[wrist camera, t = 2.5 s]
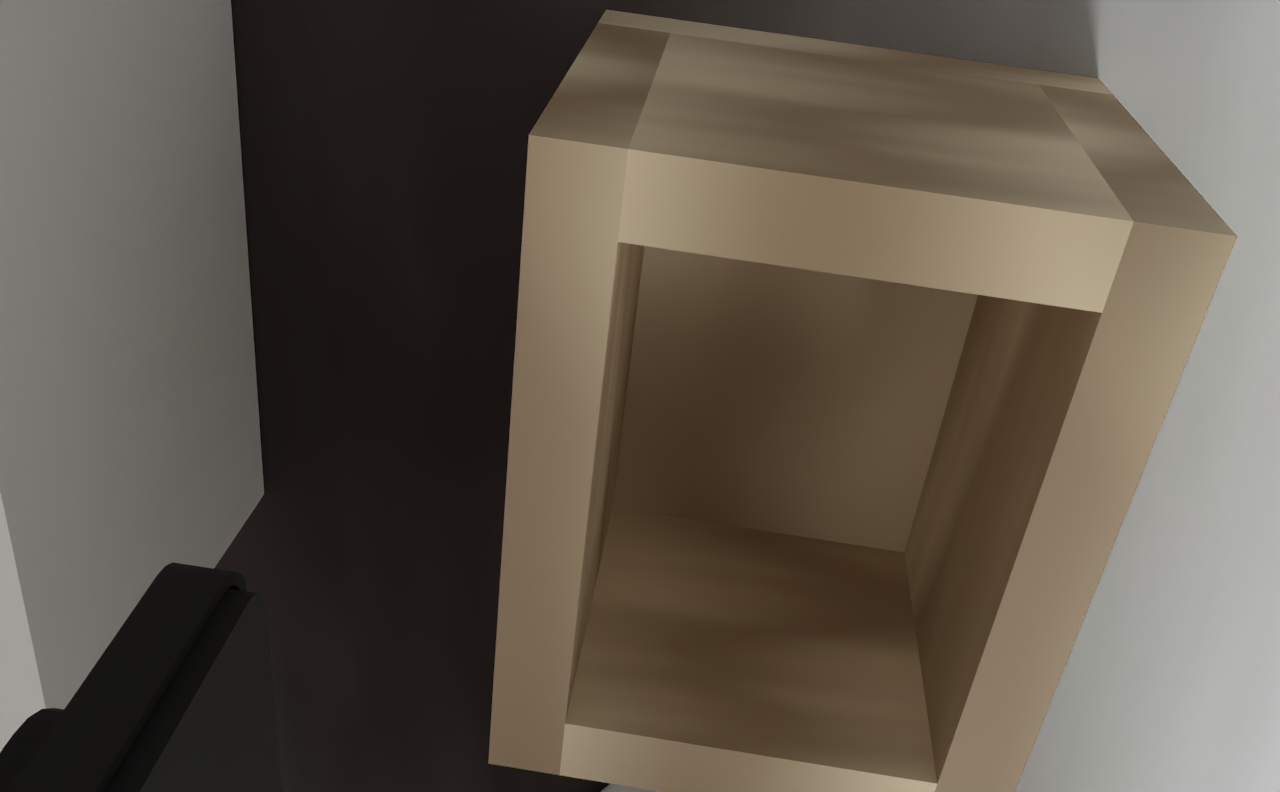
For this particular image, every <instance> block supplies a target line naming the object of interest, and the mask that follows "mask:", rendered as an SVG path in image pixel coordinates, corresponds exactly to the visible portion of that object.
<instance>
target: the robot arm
mask: <svg viewBox="0 0 1280 792" xmlns="http://www.w3.org/2000/svg"><path fill="white" fill-rule="evenodd" d="M0 792H282V788H281V777H280V765H279V754H278V743H277V731H276V720H275V709H274V697H273V686H272V675H271V663H270V652H269V641H268V629H267V618H266V607H265V601H264V598H263V596H262V594H259V593H252V592H247V588H246V584H245V579H244V578H243V576H242V574H241V573H238V572H232V571H226V570H219V569H213V568H206V567H200V566H193V565H186V564H180V563H173V562H172V563H170V564H168V565H166V566H165V567H164V568H163V569H162V570H161V571H160V572H159V574H158V575H157V576H156V578H155V579H154V581H153V582H152V583H151V585H150V586H149V588H148V589H147V591H146V592H145V594H144V595H143V596H142V598H141V599H140V601H139V602H138V604H137V605H136V607H135V608H134V609H133V611H132V612H131V614H130V615H129V617H128V618H127V620H126V621H125V622H124V624H123V625H122V627H121V628H120V630H119V631H118V632H117V634H116V635H115V637H114V638H113V640H112V641H111V643H110V644H109V645H108V647H107V648H106V650H105V651H104V653H103V654H102V656H101V657H100V658H99V660H98V661H97V663H96V664H95V666H94V667H93V669H92V670H91V671H90V673H89V674H88V676H87V677H86V679H85V680H84V682H83V683H82V684H81V686H80V687H79V689H78V690H77V692H76V693H75V695H74V696H73V697H72V699H71V700H70V702H69V703H68V705H67V706H66V708H65V709H57V708H47V709H41V710H39V711H38V712H36V713H35V714H33V715H32V716H30V717H28V718H27V719H26V720H25V722H24V723H23V724H22V725H21V726H20V727H19V728H18V729H17V731H16V732H15V733H14V734H13V735H12V737H11V738H10V739H9V741H8V742H7V744H6V745H5V746H4V748H3V749H2V750H1V752H0Z"/></svg>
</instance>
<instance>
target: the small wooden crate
mask: <svg viewBox="0 0 1280 792" xmlns="http://www.w3.org/2000/svg"><path fill="white" fill-rule="evenodd" d="M1236 238H1237V236H1236V235H1235V234H1234V232H1233V231H1232V230H1231V229H1230V228H1229V227H1228V226H1227V224H1226V223H1225V222H1224V221H1223V220H1222V219H1221V218H1220V216H1219V215H1218V214H1217V213H1216V212H1215V211H1214V210H1213V208H1212V207H1211V206H1210V205H1209V204H1208V203H1207V202H1206V200H1205V199H1204V198H1203V197H1202V196H1201V195H1200V194H1199V192H1198V191H1197V190H1196V189H1195V188H1194V187H1193V186H1192V184H1191V183H1190V182H1189V181H1188V180H1187V179H1186V178H1185V176H1184V175H1183V174H1182V173H1181V172H1180V171H1179V170H1178V168H1177V167H1176V166H1175V165H1174V164H1173V163H1172V162H1171V160H1170V159H1169V158H1168V157H1167V156H1166V155H1165V154H1164V152H1163V151H1162V150H1161V149H1160V148H1159V147H1158V146H1157V144H1156V143H1155V142H1154V141H1153V140H1152V139H1151V138H1150V137H1149V135H1148V134H1147V133H1146V132H1145V131H1144V130H1143V129H1142V127H1141V126H1140V125H1139V124H1138V123H1137V122H1136V121H1135V119H1134V118H1133V117H1132V116H1131V115H1130V114H1129V113H1128V111H1127V110H1126V109H1125V108H1124V107H1123V106H1122V105H1121V103H1120V102H1119V101H1118V100H1117V99H1116V98H1115V97H1114V95H1113V94H1112V93H1111V92H1110V91H1109V90H1108V89H1107V87H1106V86H1105V85H1104V84H1103V83H1102V82H1101V81H1100V79H1099V78H1093V77H1086V76H1079V75H1072V74H1065V73H1057V72H1050V71H1043V70H1036V69H1029V68H1022V67H1014V66H1007V65H1000V64H993V63H986V62H979V61H971V60H964V59H957V58H950V57H943V56H935V55H928V54H921V53H914V52H907V51H900V50H892V49H885V48H878V47H871V46H864V45H857V44H849V43H842V42H835V41H828V40H821V39H814V38H806V37H799V36H792V35H785V34H778V33H771V32H763V31H756V30H749V29H742V28H735V27H728V26H720V25H713V24H706V23H699V22H692V21H684V20H677V19H670V18H663V17H656V16H649V15H641V14H634V13H627V12H620V11H613V10H606V11H605V12H604V14H603V16H602V17H601V19H600V20H599V22H598V24H597V25H596V27H595V28H594V30H593V32H592V33H591V35H590V37H589V38H588V40H587V41H586V43H585V45H584V46H583V48H582V50H581V51H580V53H579V54H578V56H577V58H576V59H575V61H574V62H573V64H572V66H571V67H570V69H569V71H568V72H567V74H566V75H565V77H564V79H563V80H562V82H561V83H560V85H559V87H558V88H557V90H556V92H555V93H554V95H553V96H552V98H551V100H550V101H549V103H548V105H547V106H546V108H545V109H544V111H543V113H542V114H541V116H540V117H539V119H538V121H537V122H536V124H535V126H534V127H533V129H532V130H531V132H530V134H529V139H528V155H527V170H526V186H525V201H524V217H523V232H522V248H521V263H520V279H519V294H518V310H517V326H516V341H515V357H514V372H513V388H512V403H511V419H510V434H509V450H508V465H507V481H506V496H505V512H504V527H503V543H502V558H501V574H500V589H499V605H498V620H497V636H496V651H495V667H494V683H493V698H492V714H491V729H490V745H489V760H488V764H494V765H500V766H506V767H513V768H519V769H525V770H531V771H537V772H543V773H549V774H555V775H562V776H568V777H574V778H580V779H586V780H592V781H598V782H604V783H610V784H617V785H623V786H629V787H635V788H641V789H647V790H653V791H659V792H1015V790H1016V787H1017V785H1018V782H1019V780H1020V777H1021V775H1022V772H1023V770H1024V767H1025V765H1026V762H1027V760H1028V757H1029V755H1030V752H1031V750H1032V747H1033V745H1034V742H1035V740H1036V737H1037V735H1038V732H1039V730H1040V727H1041V725H1042V722H1043V720H1044V717H1045V715H1046V712H1047V710H1048V707H1049V705H1050V702H1051V700H1052V697H1053V695H1054V692H1055V690H1056V687H1057V685H1058V682H1059V680H1060V677H1061V675H1062V672H1063V670H1064V667H1065V665H1066V662H1067V660H1068V657H1069V655H1070V652H1071V650H1072V647H1073V645H1074V642H1075V640H1076V638H1077V635H1078V633H1079V630H1080V628H1081V625H1082V623H1083V620H1084V618H1085V615H1086V613H1087V610H1088V608H1089V605H1090V603H1091V600H1092V598H1093V595H1094V593H1095V590H1096V588H1097V585H1098V583H1099V580H1100V578H1101V575H1102V573H1103V570H1104V568H1105V565H1106V563H1107V560H1108V558H1109V555H1110V553H1111V550H1112V548H1113V545H1114V543H1115V540H1116V538H1117V535H1118V533H1119V530H1120V528H1121V525H1122V523H1123V520H1124V518H1125V515H1126V513H1127V510H1128V508H1129V505H1130V503H1131V500H1132V498H1133V495H1134V493H1135V490H1136V488H1137V485H1138V483H1139V480H1140V478H1141V475H1142V473H1143V470H1144V468H1145V465H1146V463H1147V460H1148V458H1149V455H1150V453H1151V450H1152V448H1153V445H1154V443H1155V440H1156V438H1157V435H1158V433H1159V430H1160V428H1161V425H1162V423H1163V420H1164V418H1165V415H1166V413H1167V410H1168V408H1169V405H1170V403H1171V400H1172V398H1173V395H1174V393H1175V390H1176V388H1177V385H1178V383H1179V380H1180V378H1181V375H1182V373H1183V370H1184V368H1185V365H1186V363H1187V360H1188V358H1189V355H1190V353H1191V350H1192V348H1193V345H1194V343H1195V340H1196V338H1197V335H1198V333H1199V330H1200V328H1201V325H1202V323H1203V320H1204V318H1205V315H1206V313H1207V310H1208V308H1209V305H1210V303H1211V300H1212V298H1213V295H1214V293H1215V290H1216V288H1217V285H1218V283H1219V280H1220V278H1221V275H1222V273H1223V270H1224V268H1225V265H1226V263H1227V260H1228V258H1229V255H1230V253H1231V250H1232V248H1233V245H1234V243H1235V240H1236Z"/></svg>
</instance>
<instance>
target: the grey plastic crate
mask: <svg viewBox="0 0 1280 792" xmlns="http://www.w3.org/2000/svg"><path fill="white" fill-rule="evenodd" d="M263 495H264V482H263V467H262V452H261V438H260V423H259V408H258V393H257V378H256V364H255V349H254V334H253V319H252V305H251V290H250V275H249V260H248V246H247V231H246V216H245V201H244V186H243V172H242V157H241V142H240V127H239V113H238V98H237V83H236V68H235V54H234V39H233V24H232V9H231V0H0V752H1V750H2V749H3V748H4V746H5V745H6V744H7V742H8V741H9V739H10V738H11V737H12V735H13V734H14V733H15V732H16V731H17V729H18V728H19V727H20V726H21V725H22V724H23V723H24V722H25V720H26V719H27V718H28V717H30V716H32V715H33V714H35V713H36V712H38V711H39V710H41V709H47V708H57V709H65V708H66V706H67V705H68V703H69V702H70V700H71V699H72V697H73V696H74V695H75V693H76V692H77V690H78V689H79V687H80V686H81V684H82V683H83V682H84V680H85V679H86V677H87V676H88V674H89V673H90V671H91V670H92V669H93V667H94V666H95V664H96V663H97V661H98V660H99V658H100V657H101V656H102V654H103V653H104V651H105V650H106V648H107V647H108V645H109V644H110V643H111V641H112V640H113V638H114V637H115V635H116V634H117V632H118V631H119V630H120V628H121V627H122V625H123V624H124V622H125V621H126V620H127V618H128V617H129V615H130V614H131V612H132V611H133V609H134V608H135V607H136V605H137V604H138V602H139V601H140V599H141V598H142V596H143V595H144V594H145V592H146V591H147V589H148V588H149V586H150V585H151V583H152V582H153V581H154V579H155V578H156V576H157V575H158V574H159V572H160V571H161V570H162V569H163V568H164V567H165V566H166V565H168V564H170V563H172V562H173V563H180V564H186V565H193V566H200V567H206V568H213V569H214V568H215V567H216V565H217V564H218V562H219V561H220V559H221V558H222V556H223V555H224V553H225V552H226V550H227V549H228V547H229V546H230V544H231V543H232V541H233V540H234V538H235V537H236V535H237V534H238V532H239V531H240V529H241V528H242V526H243V525H244V523H245V522H246V521H247V519H248V518H249V516H250V515H251V513H252V512H253V510H254V509H255V507H256V506H257V504H258V503H259V501H260V500H261V498H262V497H263Z"/></svg>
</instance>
